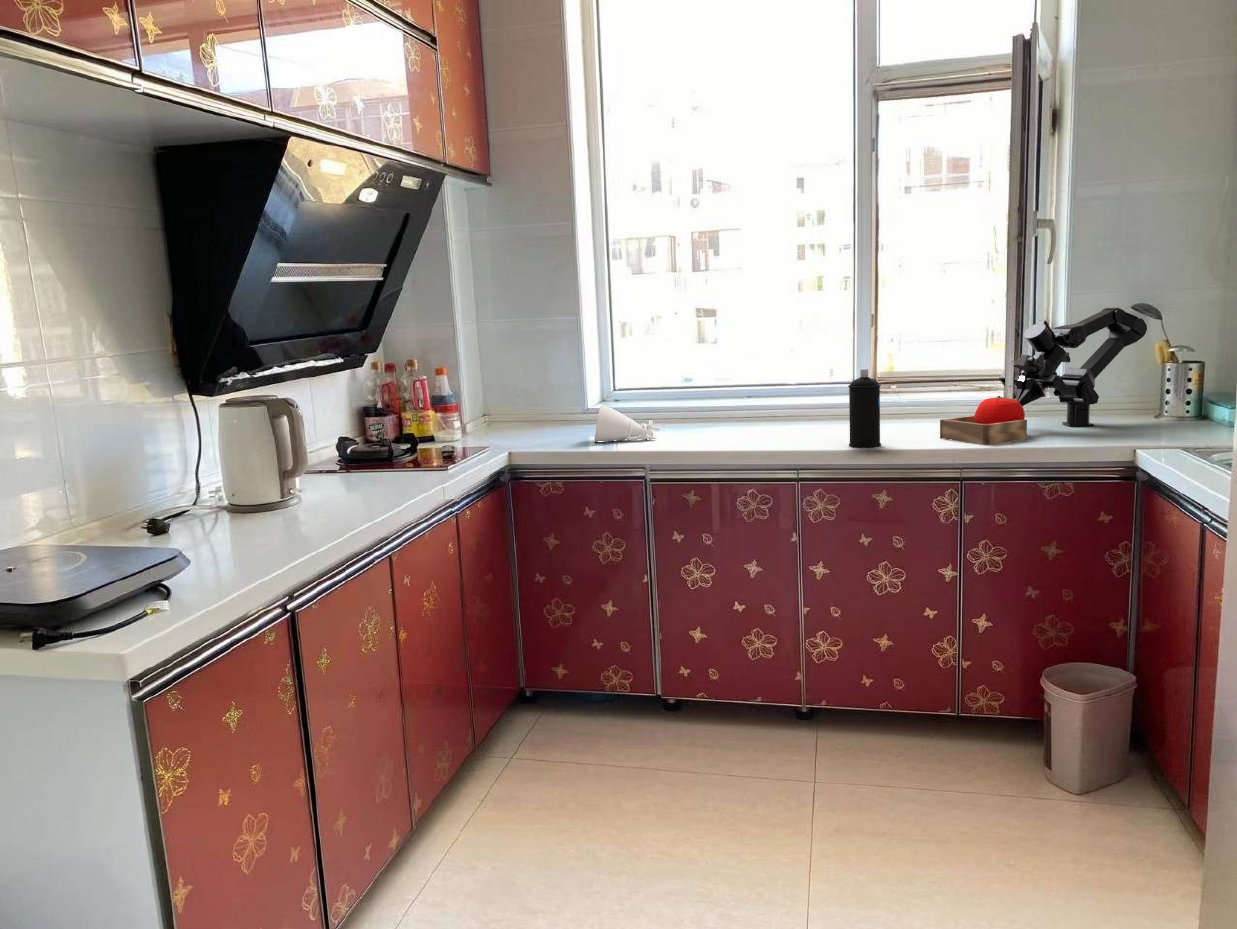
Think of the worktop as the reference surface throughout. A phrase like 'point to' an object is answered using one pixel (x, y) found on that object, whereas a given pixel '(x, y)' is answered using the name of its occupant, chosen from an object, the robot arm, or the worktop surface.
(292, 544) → the worktop surface
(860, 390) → the aerosol can
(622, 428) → the rocket engine
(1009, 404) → the tomato
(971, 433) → the tray
